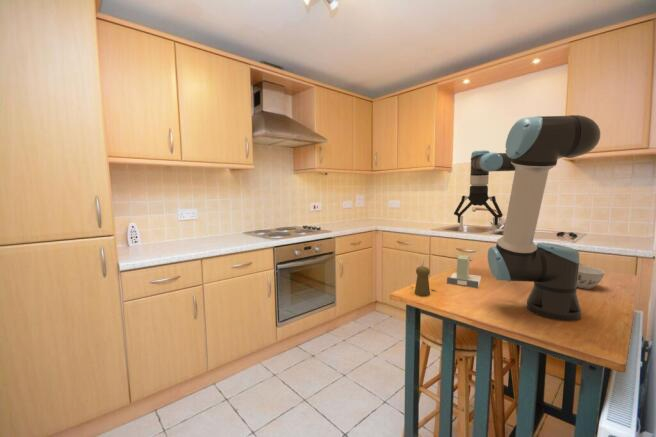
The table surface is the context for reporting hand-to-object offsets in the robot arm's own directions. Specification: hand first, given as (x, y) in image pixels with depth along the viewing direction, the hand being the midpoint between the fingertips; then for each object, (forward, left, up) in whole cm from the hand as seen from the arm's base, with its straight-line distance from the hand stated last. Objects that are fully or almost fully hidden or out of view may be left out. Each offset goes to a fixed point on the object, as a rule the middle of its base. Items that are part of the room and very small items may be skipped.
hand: (476, 231), depth 141 cm
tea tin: (-11, +4, -20) cm, 23 cm away
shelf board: (-12, +3, -22) cm, 25 cm away
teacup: (+7, -41, -22) cm, 47 cm away
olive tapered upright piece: (-35, +16, -22) cm, 44 cm away
